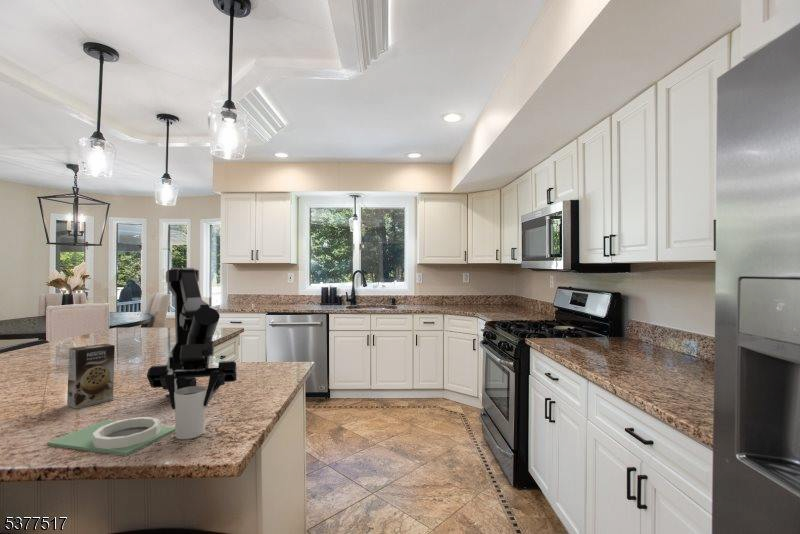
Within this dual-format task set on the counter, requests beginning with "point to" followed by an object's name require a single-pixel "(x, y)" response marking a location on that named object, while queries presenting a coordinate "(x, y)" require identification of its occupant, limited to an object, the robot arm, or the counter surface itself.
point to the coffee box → (90, 375)
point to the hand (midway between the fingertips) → (189, 407)
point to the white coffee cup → (189, 411)
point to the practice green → (115, 436)
